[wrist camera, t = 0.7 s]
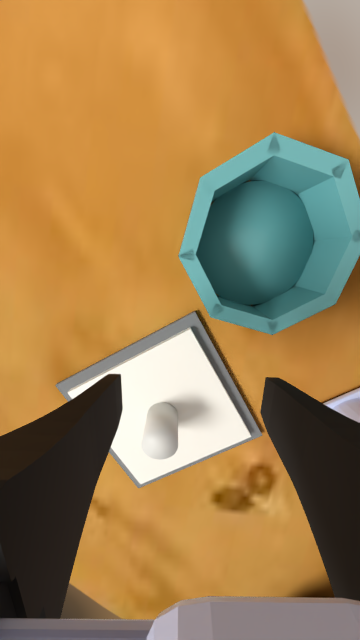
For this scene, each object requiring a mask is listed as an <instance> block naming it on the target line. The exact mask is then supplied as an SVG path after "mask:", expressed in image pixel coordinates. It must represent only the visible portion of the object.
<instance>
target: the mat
mask: <svg viewBox="0 0 360 640" xmlns="http://www.w3.org/2000/svg"><path fill="white" fill-rule="evenodd" d="M189 327H191V329H192V331H193V333H194V335H195V336H196V338H197V340H198V342H199V343H200V345H201V347H202V349H203V350H204V352H205V354H206V356H207V358H208V359H209V361H210V363H211V365H212V366H213V368H214V370H215V372H216V374H217V375H218V377H219V379H220V381H221V382H222V384H223V386H224V388H225V390H226V391H227V393H228V395H229V397H230V398H231V400H232V402H233V404H234V406H235V407H236V409H237V411H238V413H239V414H240V416H241V418H242V420H243V422H244V423H245V425H246V427H247V429H248V430H249V432H250V435H251V437H250V438H247V439H245V440H243V441H240V442H238V443H236V444H233V445H231V446H229V447H226V448H224V449H222V450H219V451H217V452H215V453H212V454H210V455H208V456H205V457H203V458H201V459H199V460H196V461H194V462H192V463H189V464H187V465H185V466H182V467H180V468H178V469H175V470H173V471H171V472H168V473H166V474H164V475H161V476H159V477H157V478H154V479H152V480H150V481H147V482H145V483H143V484H140V483H139V482H138V481H137V479H136V478H135V477H134V476H133V474H132V473H131V472H130V471H129V469H128V468H127V467H126V466H125V464H124V463H123V462H122V461H121V459H120V458H119V457H118V456H117V454H116V453H115V452H114V451H113V449H112V448H111V447H110V450H109V453H110V454H111V455H112V456H113V457H114V459H115V460H116V461H117V462H118V464H119V465H120V466H121V467H122V469H123V470H124V471H125V472H126V474H127V475H128V476H129V477H130V479H131V480H132V481H133V482H134V483H135V485H136V486H137V487H138V488H140V487H143V486H145V485H147V484H150V483H152V482H154V481H157V480H159V479H161V478H164V477H166V476H168V475H171V474H173V473H175V472H178V471H180V470H182V469H185V468H187V467H189V466H192V465H194V464H196V463H199V462H201V461H203V460H206V459H208V458H210V457H213V456H215V455H217V454H220V453H222V452H224V451H227V450H229V449H231V448H234V447H236V446H238V445H241V444H243V443H245V442H248V441H250V440H253V439H255V438H257V437H260V436H262V434H261V432H260V430H259V428H258V426H257V424H256V422H255V421H254V419H253V417H252V415H251V413H250V411H249V410H248V408H247V406H246V404H245V402H244V400H243V399H242V397H241V395H240V393H239V391H238V389H237V388H236V386H235V384H234V382H233V380H232V378H231V377H230V375H229V373H228V371H227V369H226V367H225V366H224V364H223V362H222V360H221V358H220V356H219V355H218V353H217V351H216V349H215V347H214V345H213V344H212V342H211V340H210V338H209V336H208V334H207V333H206V331H205V329H204V327H203V325H202V323H201V322H200V320H199V318H198V316H197V314H196V312H195V311H193V312H192V313H190V314H188V315H186V316H184V317H182V318H180V319H178V320H176V321H174V322H173V323H171V324H169V325H167V326H165V327H163V328H161V329H159V330H157V331H156V332H154V333H152V334H150V335H148V336H146V337H144V338H142V339H140V340H138V341H137V342H135V343H133V344H131V345H129V346H127V347H125V348H123V349H121V350H120V351H118V352H116V353H114V354H112V355H110V356H108V357H106V358H104V359H102V360H101V361H99V362H97V363H95V364H93V365H91V366H89V367H87V368H85V369H84V370H82V371H80V372H78V373H76V374H74V375H72V376H70V377H68V378H66V379H65V380H63V381H61V382H59V383H57V384H56V385H55V386H56V387H57V388H58V389H59V391H60V392H61V393H62V394H63V396H64V397H65V398H66V399H67V401H70V400H72V398H71V397H70V396H69V394H68V391H69V390H70V389H71V388H73V387H75V386H77V385H79V384H81V383H83V382H85V381H87V380H89V379H91V378H93V377H95V376H97V375H98V374H100V373H102V372H104V371H106V370H108V369H110V368H112V367H114V366H116V365H118V364H120V363H122V362H123V361H125V360H127V359H129V358H131V357H133V356H135V355H137V354H139V353H141V352H143V351H145V350H147V349H149V348H150V347H152V346H154V345H156V344H158V343H160V342H162V341H164V340H166V339H168V338H170V337H172V336H174V335H176V334H177V333H179V332H181V331H183V330H185V329H187V328H189Z"/></svg>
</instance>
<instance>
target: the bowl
mask: <svg viewBox="0 0 360 640" xmlns="http://www.w3.org/2000/svg"><path fill="white" fill-rule="evenodd" d="M249 180H251V182H248V181H249ZM212 202H213V203H212ZM211 203H212V205H211ZM210 205H211V206H210ZM359 256H360V198H359V195H358V191H357V188H356V184H355V181H354V177H353V174H352V170H351V167H350V163H349V160H348V159H345V158H343V157H340V156H337V155H335V154H332V153H329V152H326V151H324V150H321V149H318V148H315V147H313V146H310V145H307V144H305V143H302V142H299V141H296V140H294V139H291V138H288V137H285V136H283V135H280V134H277V133H275V132H274V133H272V134H271V135H269V136H268V137H266V138H264V139H263V140H261V141H259V142H258V143H256V144H255V145H253V146H251V147H250V148H248V149H246V150H245V151H243V152H241V153H240V154H238V155H237V156H235V157H233V158H232V159H230V160H228V161H227V162H225V163H223V164H222V165H220V166H219V167H217V168H215V169H214V170H212V171H210V172H209V173H207V174H206V175H204V176H202V177H201V178H200V180H199V184H198V187H197V191H196V194H195V198H194V202H193V206H192V209H191V213H190V216H189V220H188V224H187V227H186V231H185V234H184V238H183V241H182V245H181V249H180V252H179V255H178V257H179V258H180V260H181V262H182V264H183V266H184V268H185V270H186V271H187V273H188V275H189V277H190V279H191V281H192V283H193V285H194V287H195V288H196V290H197V292H198V294H199V296H200V298H201V300H202V302H203V304H204V306H205V307H206V309H207V311H208V313H209V315H210V317H211V318H215V319H218V320H222V321H226V322H229V323H233V324H236V325H240V326H243V327H247V328H250V329H254V330H257V331H261V332H264V333H268V334H271V335H273V334H275V333H277V332H279V331H281V330H283V329H285V328H287V327H290V326H292V325H294V324H296V323H298V322H300V321H302V320H304V319H306V318H308V317H310V316H312V315H314V314H316V313H318V312H320V311H322V310H324V309H326V308H328V307H331V306H333V305H335V304H336V302H337V300H338V298H339V296H340V294H341V292H342V290H343V288H344V286H345V284H346V282H347V280H348V278H349V276H350V274H351V272H352V270H353V268H354V266H355V264H356V262H357V260H358V258H359ZM215 293H216V294H218V295H219V296H218V295H216V294H215Z"/></svg>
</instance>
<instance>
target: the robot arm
mask: <svg viewBox="0 0 360 640" xmlns="http://www.w3.org/2000/svg"><path fill="white" fill-rule="evenodd" d="M122 410H123V405H122V385H121V374H107V375H106V376H104V377H103V378H102V379H100V380H99V381H97V382H96V383H95V384H93V385H92V386H91V387H89V388H88V389H86V390H85V391H84V392H82V393H81V394H79V395H78V396H76V397H75V398H73V399H72V400H70V401H68V402H67V403H65V404H64V405H62V406H61V407H59V408H57V409H56V410H54V411H52V412H50V413H49V414H47V415H45V416H43V417H41V418H39V419H37V420H35V421H33V422H31V423H29V424H27V425H25V426H22V427H20V428H18V429H16V430H14V431H12V432H9V433H7V434H5V435H2V436H0V640H360V388H358V389H356V390H353V391H351V392H349V393H346V394H344V395H342V396H339V397H337V398H335V399H332V400H330V401H328V402H325V403H323V404H322V403H321V402H319V401H317V400H316V399H314V398H312V397H311V396H309V395H307V394H306V393H304V392H302V391H301V390H299V389H297V388H296V387H294V386H292V385H291V384H289V383H287V382H286V381H284V380H282V379H280V378H270V377H266V380H265V387H264V393H263V400H262V406H261V415H262V418H263V421H264V424H265V427H266V429H267V432H268V434H269V436H270V438H271V440H272V442H273V444H274V446H275V448H276V450H277V452H278V454H279V456H280V458H281V460H282V462H283V464H284V466H285V468H286V470H287V472H288V474H289V476H290V478H291V480H292V482H293V484H294V487H295V489H296V491H297V494H298V496H299V499H300V501H301V504H302V506H303V509H304V511H305V514H306V516H307V519H308V522H309V524H310V527H311V530H312V532H313V535H314V538H315V541H316V543H317V546H318V549H319V552H320V555H321V557H322V560H323V563H324V566H325V569H326V572H327V575H328V578H329V581H330V583H331V586H332V590H333V593H334V596H335V598H307V597H219V596H208V597H201V598H195V599H188V600H181V601H179V602H178V603H176V604H174V605H172V606H171V607H169V608H167V609H165V610H164V611H162V612H160V614H159V615H158V616H157V618H156V619H155V620H126V619H118V620H117V619H60V616H61V613H62V608H63V604H64V600H65V596H66V592H67V588H68V584H69V580H70V576H71V573H72V569H73V565H74V561H75V557H76V554H77V550H78V546H79V542H80V539H81V535H82V531H83V528H84V524H85V521H86V517H87V514H88V510H89V507H90V503H91V500H92V497H93V493H94V490H95V486H96V484H97V481H98V478H99V475H100V472H101V470H102V467H103V465H104V462H105V460H106V457H107V455H108V452H109V450H110V447H111V445H112V442H113V440H114V437H115V435H116V432H117V429H118V426H119V422H120V418H121V414H122Z"/></svg>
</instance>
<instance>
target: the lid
mask: <svg viewBox="0 0 360 640" xmlns="http://www.w3.org/2000/svg"><path fill="white" fill-rule="evenodd" d="M107 374H121V385H122V405H123V410H122V414H121V418H120V422H119V426H118V429H117V432H116V435H115V437H114V440H113V442H112V445H111V448H112V449H113V451H114V452H115V453H116V454H117V456H118V457H119V458H120V459H121V461H122V462H123V463H124V464H125V466H126V467H127V468H128V469H129V471H130V472H131V473H132V474H133V476H134V477H135V478H136V479H137V481H138V482H139V483H140V484H143V483H145V482H147V481H150V480H152V479H154V478H157V477H159V476H161V475H164V474H166V473H168V472H171V471H173V470H175V469H178V468H180V467H182V466H185V465H187V464H189V463H192V462H194V461H196V460H199V459H201V458H203V457H205V456H208V455H210V454H212V453H215V452H217V451H219V450H222V449H224V448H226V447H229V446H231V445H233V444H236V443H238V442H240V441H243V440H245V439H247V438H250V437H251V435H250V432H249V430H248V429H247V427H246V425H245V423H244V422H243V420H242V418H241V416H240V414H239V413H238V411H237V409H236V407H235V406H234V404H233V402H232V400H231V398H230V397H229V395H228V393H227V391H226V390H225V388H224V386H223V384H222V382H221V381H220V379H219V377H218V375H217V374H216V372H215V370H214V368H213V366H212V365H211V363H210V361H209V359H208V358H207V356H206V354H205V352H204V350H203V349H202V347H201V345H200V343H199V342H198V340H197V338H196V336H195V335H194V333H193V331H192V329H191V327H189V328H187V329H185V330H183V331H181V332H179V333H177V334H176V335H174V336H172V337H170V338H168V339H166V340H164V341H162V342H160V343H158V344H156V345H154V346H152V347H150V348H149V349H147V350H145V351H143V352H141V353H139V354H137V355H135V356H133V357H131V358H129V359H127V360H125V361H123V362H122V363H120V364H118V365H116V366H114V367H112V368H110V369H108V370H106V371H104V372H102V373H100V374H98V375H97V376H95V377H93V378H91V379H89V380H87V381H85V382H83V383H81V384H79V385H77V386H75V387H73V388H71V389H70V390H69V391H68V394H69V396H70V397H71V398H72V399H73V398H75V397H76V396H78V395H79V394H81V393H82V392H84V391H85V390H86V389H88V388H89V387H91V386H92V385H93V384H95V383H96V382H97V381H99V380H100V379H102V378H103V377H104V376H106V375H107Z"/></svg>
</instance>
